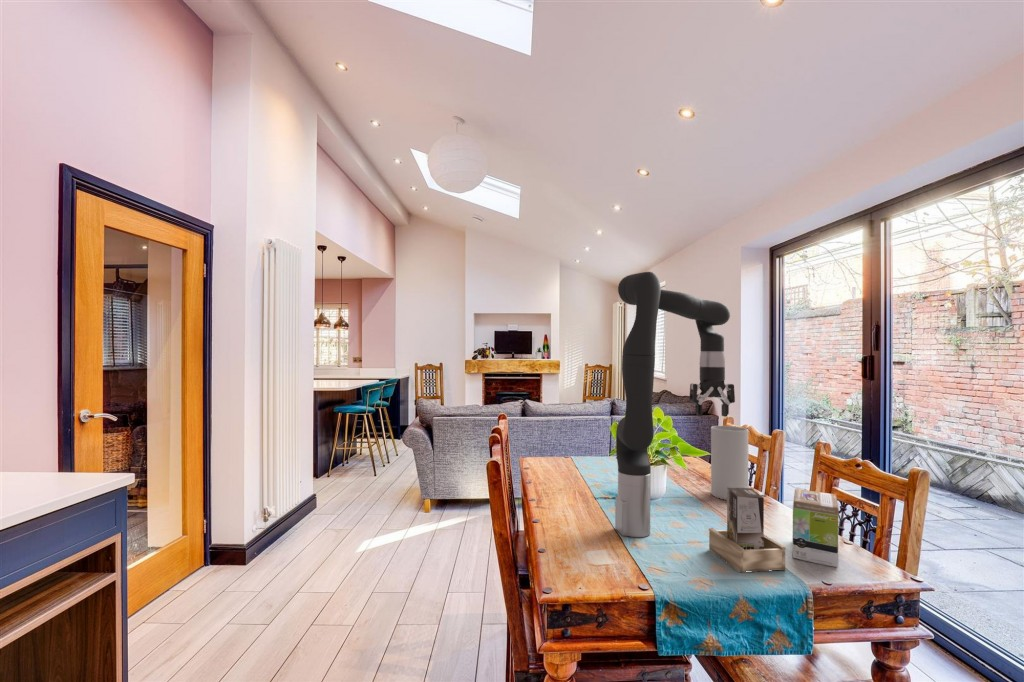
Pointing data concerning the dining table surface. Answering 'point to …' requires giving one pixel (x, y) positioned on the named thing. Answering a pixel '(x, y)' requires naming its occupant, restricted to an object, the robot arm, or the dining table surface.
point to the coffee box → (745, 518)
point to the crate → (747, 553)
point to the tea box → (815, 527)
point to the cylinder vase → (728, 459)
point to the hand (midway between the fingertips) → (712, 416)
